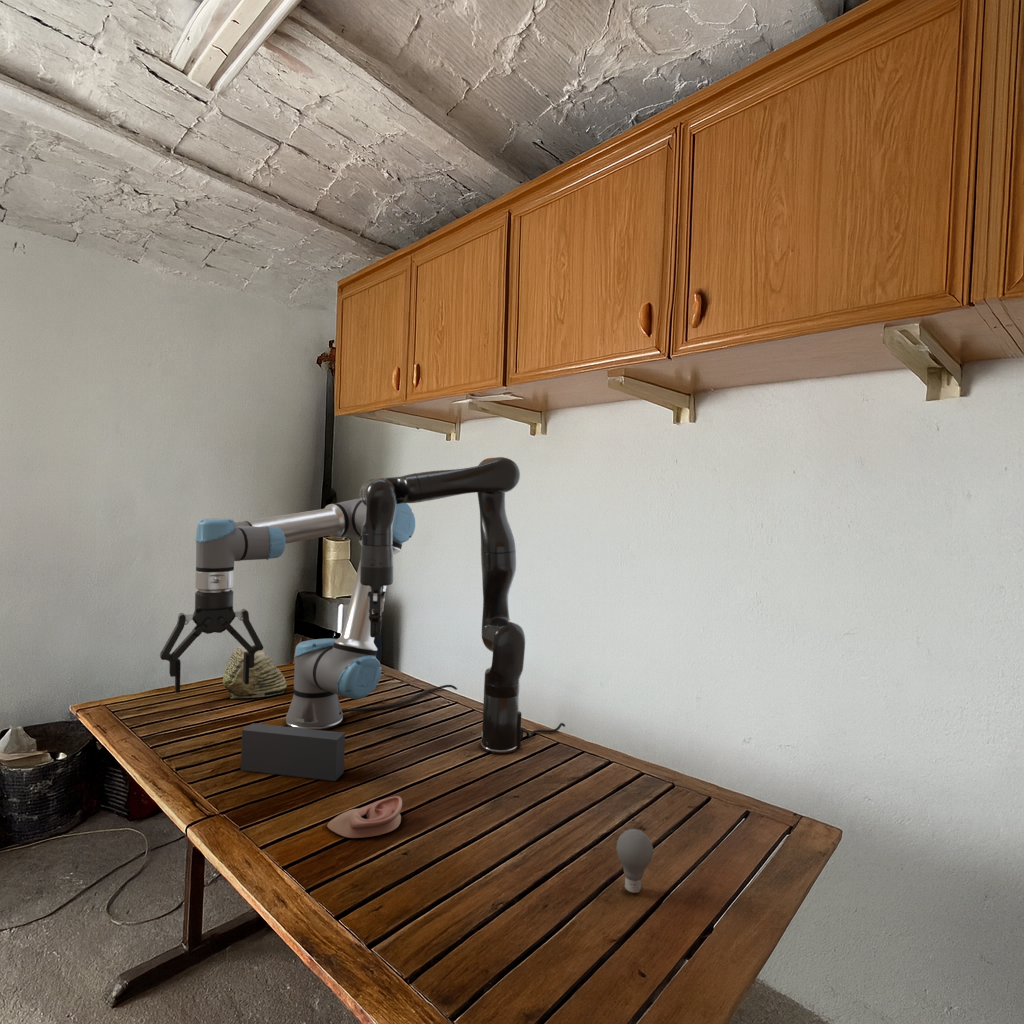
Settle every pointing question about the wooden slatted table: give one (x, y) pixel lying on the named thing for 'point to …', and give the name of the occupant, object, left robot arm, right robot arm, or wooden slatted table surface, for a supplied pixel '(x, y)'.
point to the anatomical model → (369, 819)
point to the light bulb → (634, 857)
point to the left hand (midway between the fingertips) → (212, 686)
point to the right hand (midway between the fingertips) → (376, 632)
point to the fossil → (253, 676)
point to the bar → (293, 751)
